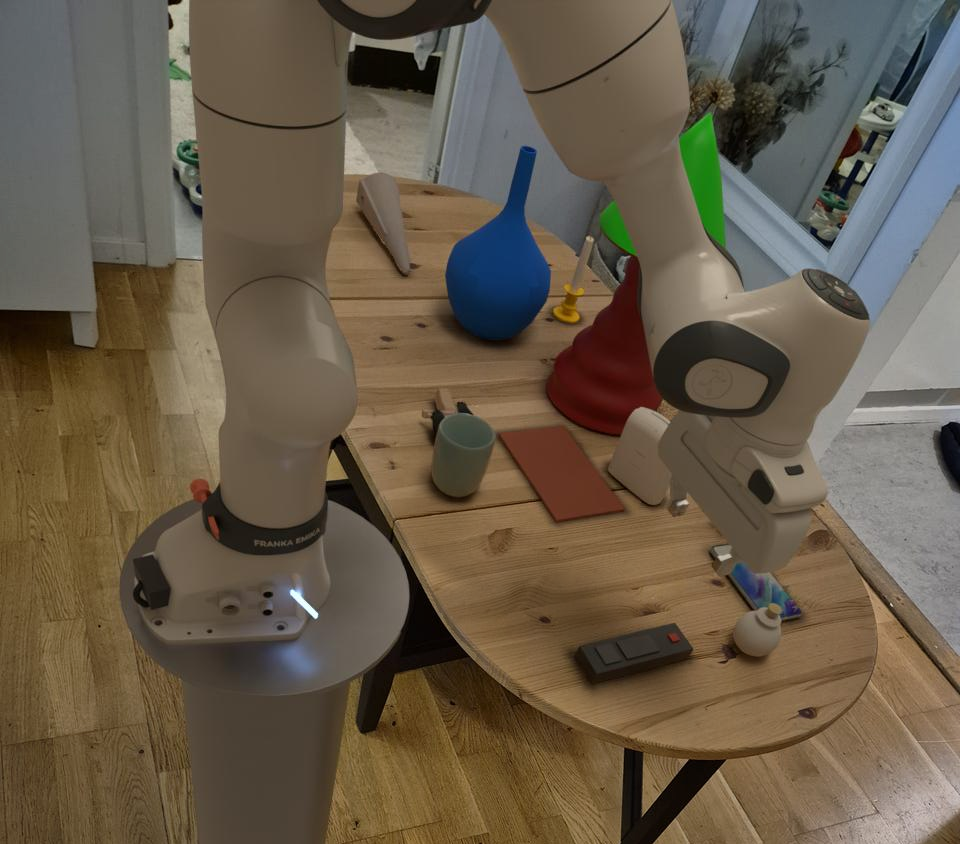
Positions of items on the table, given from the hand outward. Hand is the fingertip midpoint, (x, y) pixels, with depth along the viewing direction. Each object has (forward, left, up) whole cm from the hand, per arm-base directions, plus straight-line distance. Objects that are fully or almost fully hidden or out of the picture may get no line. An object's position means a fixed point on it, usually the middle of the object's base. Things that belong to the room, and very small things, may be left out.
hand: (696, 541), depth 92 cm
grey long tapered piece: (+7, +104, -20) cm, 106 cm away
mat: (+7, +34, -19) cm, 40 cm away
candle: (+31, +76, -20) cm, 84 cm away
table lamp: (+24, +50, -20) cm, 59 cm away
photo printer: (+18, +29, -20) cm, 39 cm away
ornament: (+17, -4, -20) cm, 26 cm away
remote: (-1, -1, -19) cm, 19 cm away
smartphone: (+25, +6, -20) cm, 32 cm away
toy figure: (-7, +46, -20) cm, 50 cm away
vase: (+13, +74, -20) cm, 77 cm away
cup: (-11, +34, -20) cm, 41 cm away
